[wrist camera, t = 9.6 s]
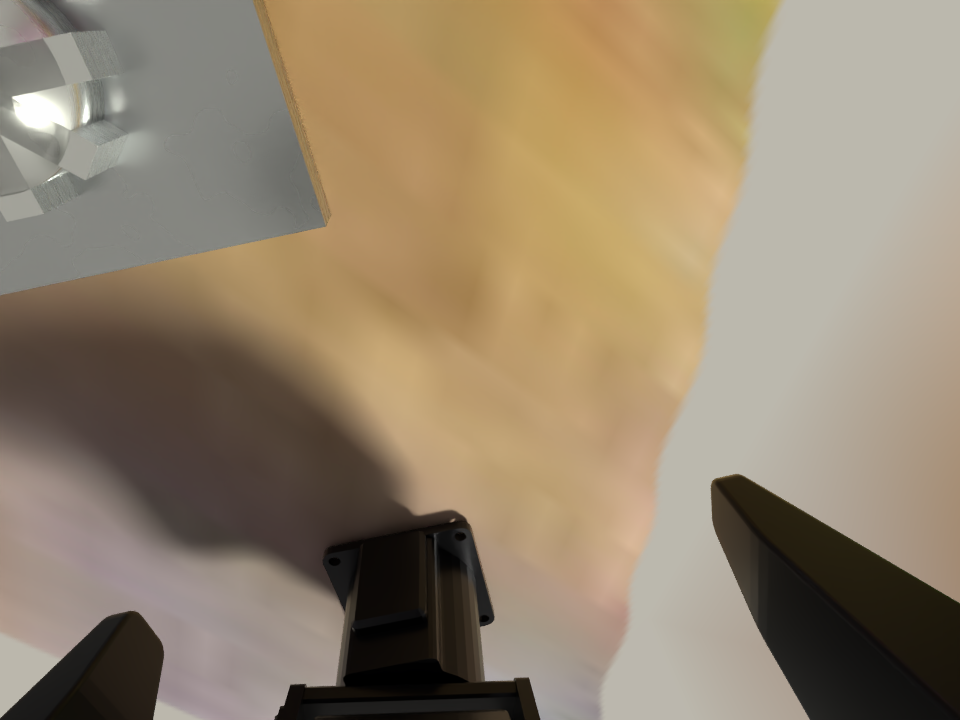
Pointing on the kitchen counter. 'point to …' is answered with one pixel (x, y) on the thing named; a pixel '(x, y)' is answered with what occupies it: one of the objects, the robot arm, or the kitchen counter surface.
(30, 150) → the carrier
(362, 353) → the kitchen counter surface
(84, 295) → the kitchen counter surface
